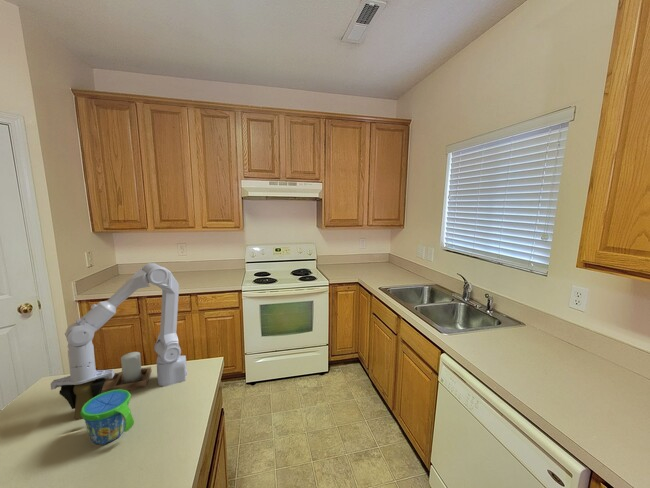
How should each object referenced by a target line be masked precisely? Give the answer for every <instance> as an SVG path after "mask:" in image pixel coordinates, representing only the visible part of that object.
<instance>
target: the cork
mask: <svg viewBox="0 0 650 488" xmlns="http://www.w3.org/2000/svg"><path fill="white" fill-rule="evenodd" d="M94 382H95V381H89V382H86V383H83V384H78V385H74V387H73V392H74V394H76V403H75V409H74V415H73V416H74V419H75V420H84V419H83V417H82V416H81V413H80V412H81V410H82V407H83V406H84V404H85V403H86V402H88V401H89V400H90V399H92V398H94V393H93V389H92V384H93V383H94Z"/></svg>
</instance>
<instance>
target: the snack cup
mask: <svg viewBox="0 0 650 488" xmlns="http://www.w3.org/2000/svg"><path fill="white" fill-rule="evenodd" d="M131 397H132V394H131V393H130V392H129V391H127V390H122V389H118V390H111V391H108V392H104V393H102V394H99V395H97V396H95V397H94V398H92V399H90V400H89V401H88V402H86V403H85V404H84V406H83V407H82V410H81V412H80V413H81V416H82V417H83V419H82V420H84V422H85V426H86V428H87V431H88V434H89V438H90V440H91V443H93V444H94V445H102V446H103V445H105V444H107V443H110V442H113V441H115V440H116V439H119V438H120V436H121V435H122V434H123V433H124V432H129V430H130V429H132V427H134V424H135V420H134V417H133V415H132V412H131V409H130V407H129V406H130V405H129V403H130V401H131Z"/></svg>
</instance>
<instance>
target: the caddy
mask: <svg viewBox="0 0 650 488" xmlns="http://www.w3.org/2000/svg"><path fill="white" fill-rule="evenodd" d="M141 372H142V381H138V382H133V383H128V384H123V377H122V371H121V372H114V377H113V378H111V379H108V378H106V380H105V383H104V385H103V388H102V391H101V394H102V393H104V392H108V391H111V390H118V389H122V390H127V391H128V392H129V391H134V390H137V389H142V388H147V385H148V382H149V379H150V377H151V374H152V366H148V367H141Z"/></svg>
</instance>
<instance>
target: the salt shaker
mask: <svg viewBox="0 0 650 488" xmlns="http://www.w3.org/2000/svg"><path fill="white" fill-rule="evenodd" d="M141 358H142V357H141V352H139V351H131V352H128V353H125V354H123V355H122V356H121V357H120V362H121V363H120V364H121V372H122V377H123V384H128V383H133V382H138V381H142V372H141V368H142V362H141V361H142V360H141Z"/></svg>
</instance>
